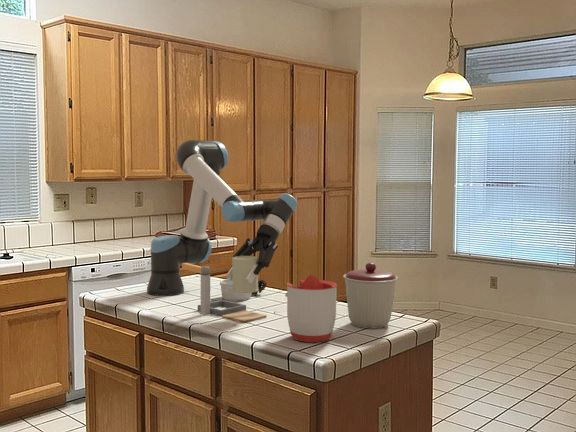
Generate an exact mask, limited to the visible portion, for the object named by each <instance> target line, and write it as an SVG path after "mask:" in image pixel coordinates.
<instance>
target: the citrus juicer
mask: <svg viewBox="0 0 576 432" xmlns="http://www.w3.org/2000/svg"><path fill="white" fill-rule="evenodd" d="M286 286H287V289H286V290H287V292H286V293H285V297H286V298H287V299H286V300H287V301H286V303H287V304H286V305H287V306H286V307H287V308H286V310H287V311H286V313H287V314H286V315H287V323H288V327H289V331H290V333H291V334H290V335H291V337H292V338H293V339H295V341H296V340H297V341H299V342H300V341H301V342H307V343H311V344H312V343H313V344H316V343H318V342H325V341H328V340H330V338H331V336H332V334H333V331H334V327H335V322H336V320H337V319H336V317H337V287H338V283H337V282H334V281H331V280H323V279H319V278H318V277H317V276H316V275H314V273H311V274H309V275H308V276H307V277H306V278H305V279H300V280H299V286H297V287H295V286H294V284H292V283H290V282H287V283H286Z"/></svg>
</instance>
